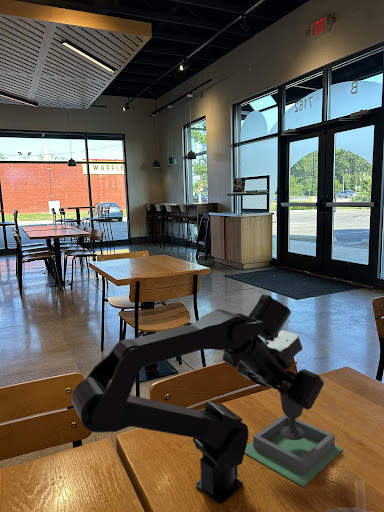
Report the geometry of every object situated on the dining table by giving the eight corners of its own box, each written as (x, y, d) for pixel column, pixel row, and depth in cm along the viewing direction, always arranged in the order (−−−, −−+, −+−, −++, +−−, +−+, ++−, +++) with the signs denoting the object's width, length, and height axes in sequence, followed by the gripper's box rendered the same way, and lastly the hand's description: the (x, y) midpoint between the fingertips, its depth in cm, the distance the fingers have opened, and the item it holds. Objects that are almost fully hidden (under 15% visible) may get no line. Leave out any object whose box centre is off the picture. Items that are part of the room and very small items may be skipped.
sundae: (305, 424, 83) (305, 358, 81) (312, 443, 76) (312, 371, 74) (274, 424, 83) (273, 358, 82) (278, 442, 77) (277, 371, 75)
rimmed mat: (303, 487, 69) (303, 473, 69) (240, 451, 80) (239, 438, 80) (342, 449, 79) (342, 437, 78) (281, 422, 90) (281, 410, 90)
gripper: (317, 333, 67) (354, 377, 74) (246, 312, 82) (283, 349, 90) (286, 389, 63) (328, 428, 71) (218, 355, 79) (258, 390, 86)
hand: (297, 394), depth 79 cm, fingers closed on sundae, 6 cm apart
